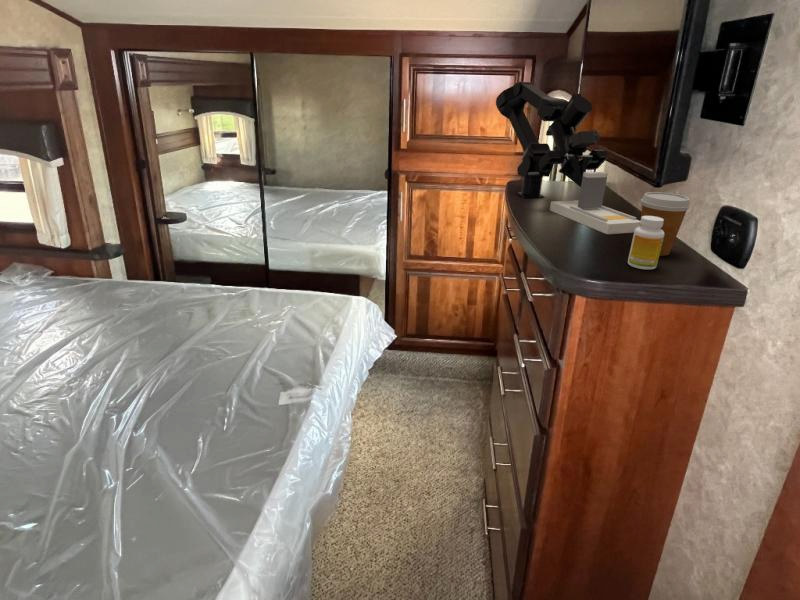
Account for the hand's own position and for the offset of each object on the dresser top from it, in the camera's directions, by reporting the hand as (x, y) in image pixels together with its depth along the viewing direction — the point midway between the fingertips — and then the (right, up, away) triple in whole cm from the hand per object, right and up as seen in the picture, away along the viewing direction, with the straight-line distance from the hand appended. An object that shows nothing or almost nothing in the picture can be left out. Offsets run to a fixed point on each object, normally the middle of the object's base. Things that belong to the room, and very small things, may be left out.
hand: (583, 186), depth 138 cm
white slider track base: (+2, -9, -2) cm, 10 cm away
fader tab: (+1, -6, -2) cm, 6 cm away
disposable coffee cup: (+6, -20, -25) cm, 33 cm away
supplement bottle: (0, -24, -34) cm, 42 cm away
